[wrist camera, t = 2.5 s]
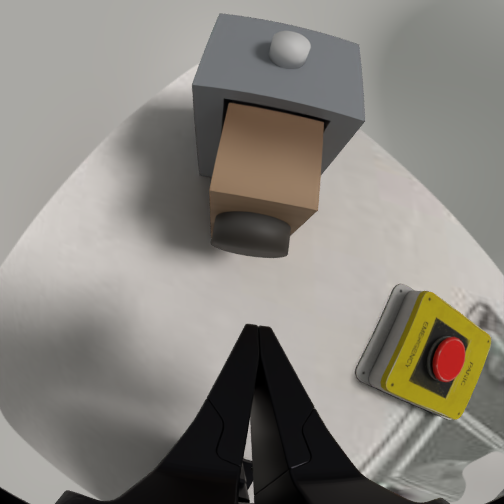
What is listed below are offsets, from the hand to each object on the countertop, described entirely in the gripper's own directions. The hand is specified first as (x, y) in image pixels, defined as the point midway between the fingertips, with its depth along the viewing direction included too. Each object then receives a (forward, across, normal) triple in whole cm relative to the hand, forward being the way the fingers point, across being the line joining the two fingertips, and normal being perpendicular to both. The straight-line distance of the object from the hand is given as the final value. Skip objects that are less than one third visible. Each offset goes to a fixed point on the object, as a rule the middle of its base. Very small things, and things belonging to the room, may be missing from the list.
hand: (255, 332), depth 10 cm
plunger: (+14, 0, +4) cm, 15 cm away
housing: (+19, 0, -1) cm, 19 cm away
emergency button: (+8, -19, +11) cm, 24 cm away
